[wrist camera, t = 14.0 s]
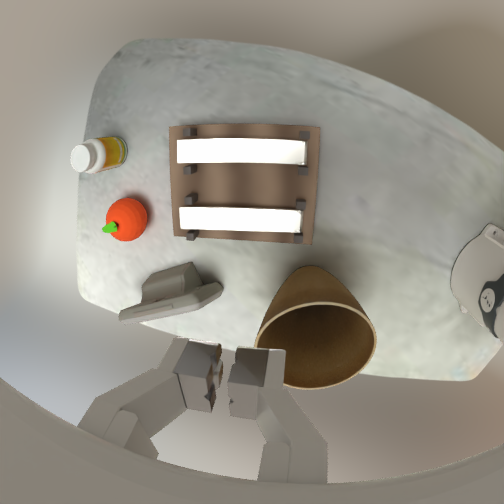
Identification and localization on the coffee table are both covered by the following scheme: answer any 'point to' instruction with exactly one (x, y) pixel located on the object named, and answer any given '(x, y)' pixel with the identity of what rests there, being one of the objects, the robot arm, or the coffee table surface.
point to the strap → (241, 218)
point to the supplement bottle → (98, 154)
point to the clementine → (126, 219)
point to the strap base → (245, 180)
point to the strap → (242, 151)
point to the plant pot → (317, 330)
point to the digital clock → (171, 295)
